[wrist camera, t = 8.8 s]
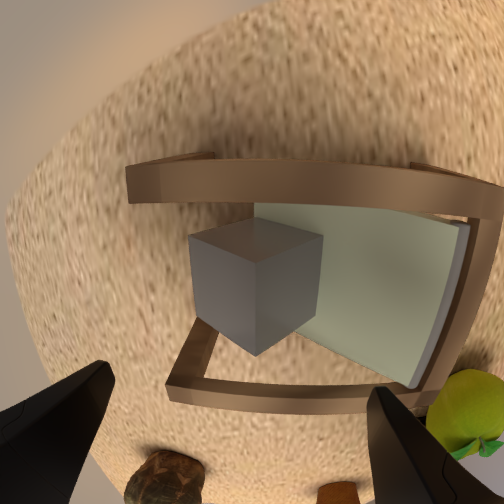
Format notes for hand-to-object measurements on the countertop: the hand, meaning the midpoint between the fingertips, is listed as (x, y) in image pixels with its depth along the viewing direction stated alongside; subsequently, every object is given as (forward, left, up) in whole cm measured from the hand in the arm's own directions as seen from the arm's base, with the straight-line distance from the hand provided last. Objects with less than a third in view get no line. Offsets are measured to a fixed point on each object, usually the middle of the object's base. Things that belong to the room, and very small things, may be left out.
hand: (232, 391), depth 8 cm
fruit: (-21, +14, -13) cm, 29 cm away
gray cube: (-1, 0, -10) cm, 10 cm away
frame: (-3, 0, -12) cm, 13 cm away
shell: (+13, +35, -13) cm, 40 cm away
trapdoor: (-5, 0, -9) cm, 10 cm away
